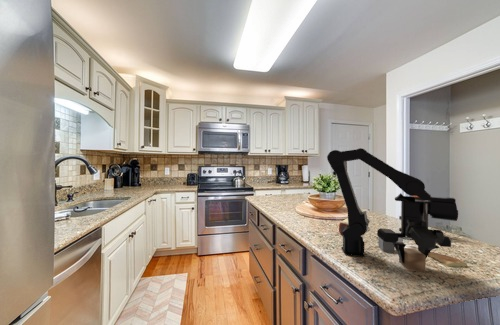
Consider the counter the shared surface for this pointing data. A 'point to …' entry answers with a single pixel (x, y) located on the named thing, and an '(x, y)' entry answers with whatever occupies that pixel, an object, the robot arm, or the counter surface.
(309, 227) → the counter surface
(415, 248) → the plan card
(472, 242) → the counter surface
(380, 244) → the gray cube
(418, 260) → the walnut block
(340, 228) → the snack package
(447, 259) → the shard
